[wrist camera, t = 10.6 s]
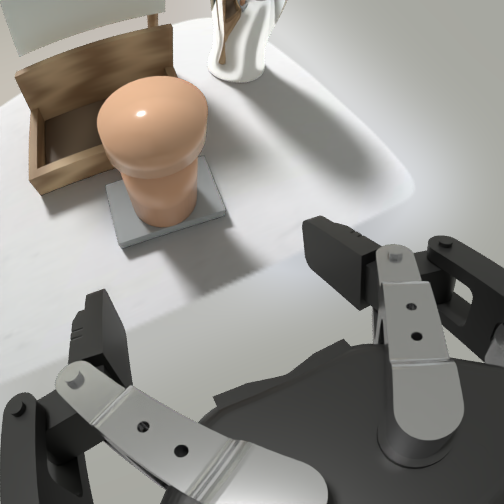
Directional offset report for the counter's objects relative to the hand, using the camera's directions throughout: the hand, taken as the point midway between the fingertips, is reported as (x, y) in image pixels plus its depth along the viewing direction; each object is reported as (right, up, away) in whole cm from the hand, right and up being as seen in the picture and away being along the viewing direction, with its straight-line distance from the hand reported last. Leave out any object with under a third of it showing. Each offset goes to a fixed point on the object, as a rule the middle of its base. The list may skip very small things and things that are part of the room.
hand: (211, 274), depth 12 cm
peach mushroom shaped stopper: (-5, +5, +10) cm, 12 cm away
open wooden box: (-12, +14, +13) cm, 23 cm away
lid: (-13, +21, +8) cm, 26 cm away
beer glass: (0, +20, +18) cm, 27 cm away
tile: (-5, +5, +11) cm, 13 cm away
